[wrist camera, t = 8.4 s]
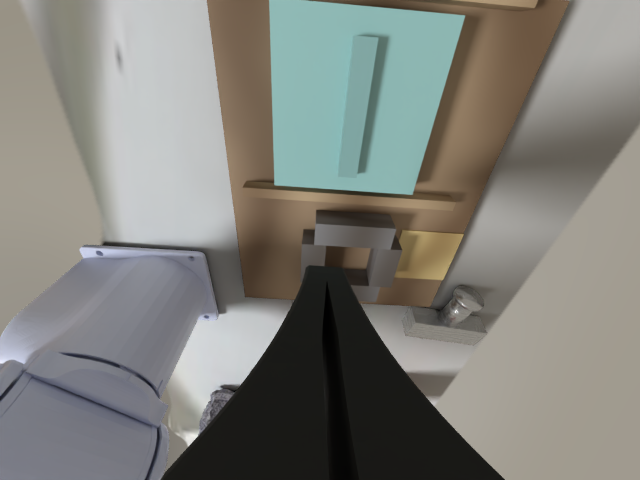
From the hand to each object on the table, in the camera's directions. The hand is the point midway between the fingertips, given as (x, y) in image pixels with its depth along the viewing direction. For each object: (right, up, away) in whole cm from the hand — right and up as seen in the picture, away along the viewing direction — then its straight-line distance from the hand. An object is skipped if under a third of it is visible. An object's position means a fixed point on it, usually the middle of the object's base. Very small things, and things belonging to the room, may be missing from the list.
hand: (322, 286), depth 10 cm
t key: (+12, -3, +12) cm, 18 cm away
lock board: (+2, +5, +8) cm, 10 cm away
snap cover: (+2, +9, +4) cm, 10 cm away
